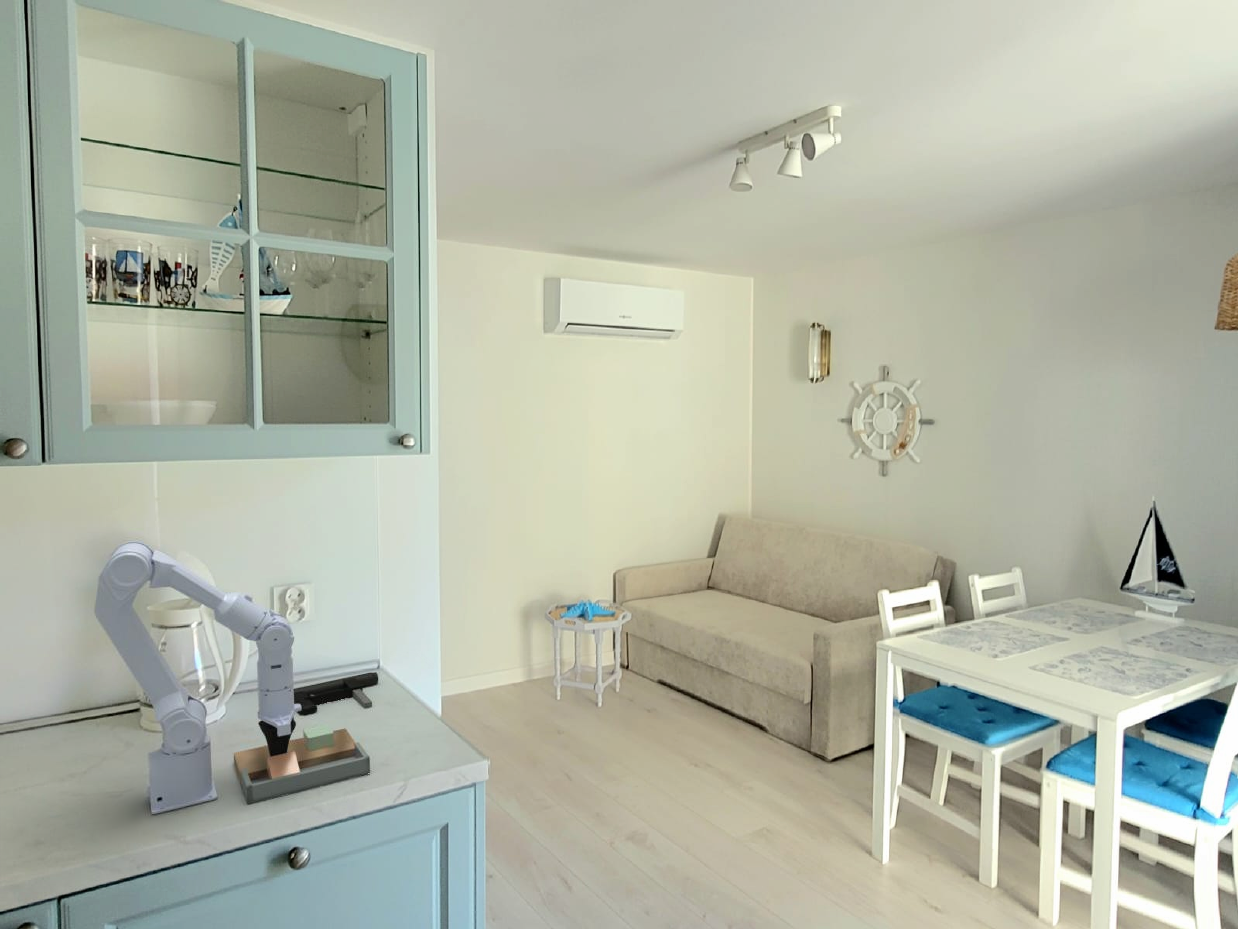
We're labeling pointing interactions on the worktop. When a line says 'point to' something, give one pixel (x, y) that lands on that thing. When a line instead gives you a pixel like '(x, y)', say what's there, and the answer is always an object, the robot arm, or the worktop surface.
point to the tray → (306, 777)
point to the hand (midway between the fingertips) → (278, 760)
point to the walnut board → (258, 756)
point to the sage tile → (318, 737)
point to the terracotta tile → (282, 765)
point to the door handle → (334, 692)
